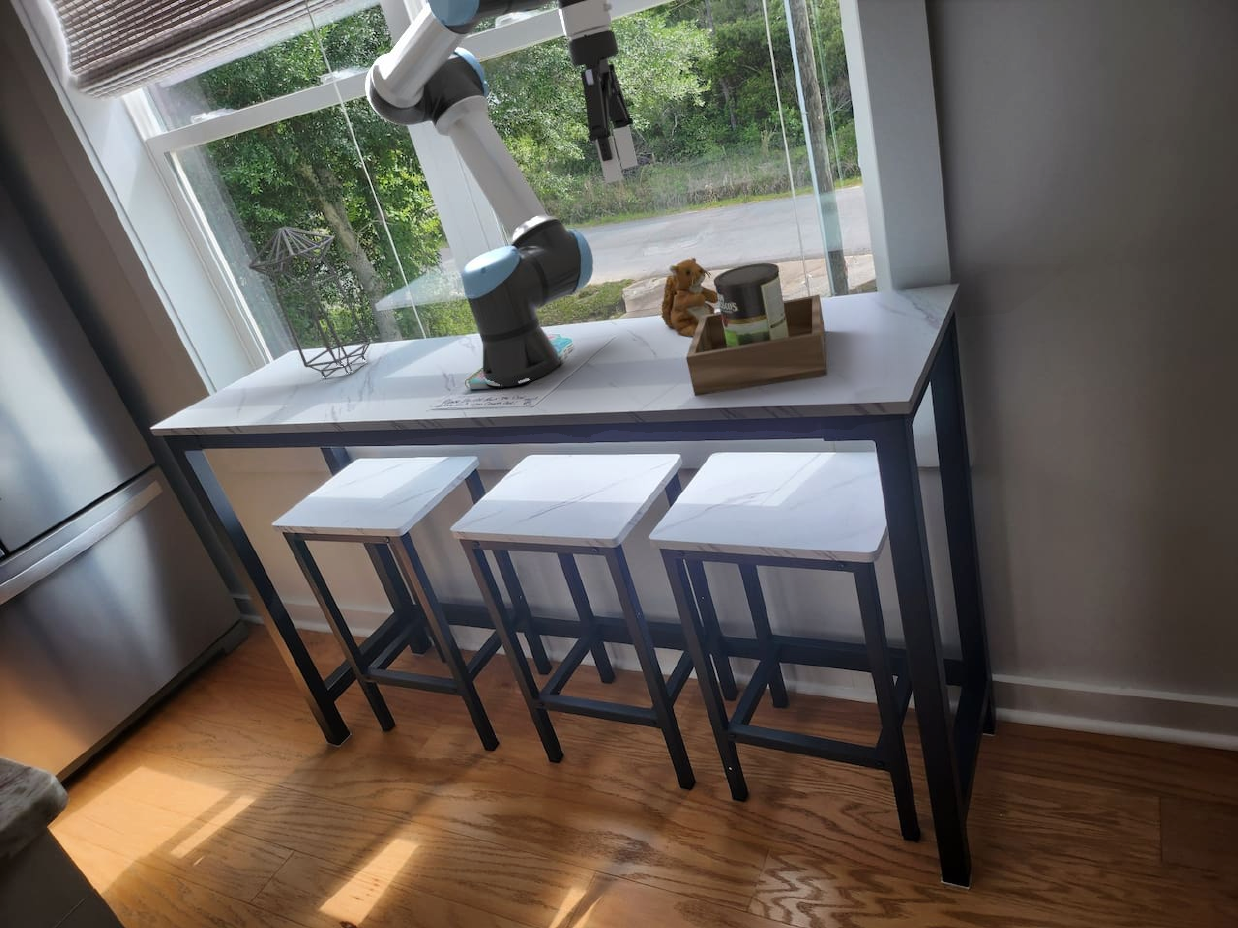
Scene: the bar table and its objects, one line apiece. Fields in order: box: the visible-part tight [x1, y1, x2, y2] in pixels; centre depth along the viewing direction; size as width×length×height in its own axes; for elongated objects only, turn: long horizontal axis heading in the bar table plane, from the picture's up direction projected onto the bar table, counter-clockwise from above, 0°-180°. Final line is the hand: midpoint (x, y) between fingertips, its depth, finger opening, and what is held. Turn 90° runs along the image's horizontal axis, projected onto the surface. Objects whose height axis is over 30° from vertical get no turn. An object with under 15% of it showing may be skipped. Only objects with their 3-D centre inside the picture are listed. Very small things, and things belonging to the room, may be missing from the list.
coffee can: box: [713, 262, 789, 348], centre depth 137 cm, size 10×10×14 cm
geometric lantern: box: [248, 226, 371, 377], centre depth 197 cm, size 16×16×35 cm
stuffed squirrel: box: [660, 257, 720, 338], centre depth 166 cm, size 10×14×13 cm
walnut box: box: [685, 294, 828, 397], centre depth 139 cm, size 20×20×6 cm
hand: (622, 174), depth 141 cm, fingers open, 13 cm apart
